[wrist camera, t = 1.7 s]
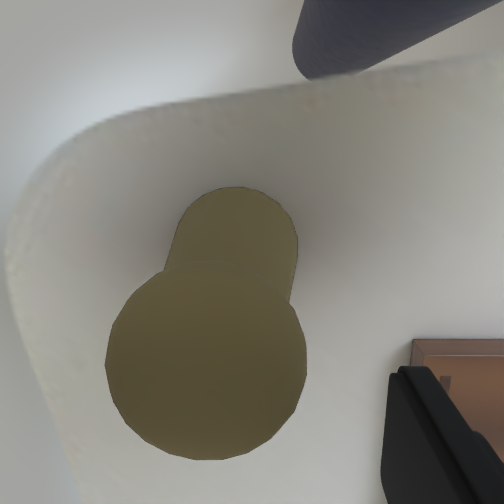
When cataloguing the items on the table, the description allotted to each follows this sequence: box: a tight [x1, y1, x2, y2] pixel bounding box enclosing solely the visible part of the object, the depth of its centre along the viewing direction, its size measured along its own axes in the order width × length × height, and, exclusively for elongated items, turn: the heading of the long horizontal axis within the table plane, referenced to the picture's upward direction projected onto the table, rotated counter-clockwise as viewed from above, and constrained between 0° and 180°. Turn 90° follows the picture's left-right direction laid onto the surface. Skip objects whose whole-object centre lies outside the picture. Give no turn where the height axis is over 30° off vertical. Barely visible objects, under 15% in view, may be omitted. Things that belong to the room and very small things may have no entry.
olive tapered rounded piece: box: [105, 187, 307, 460], centre depth 14 cm, size 6×6×11 cm
